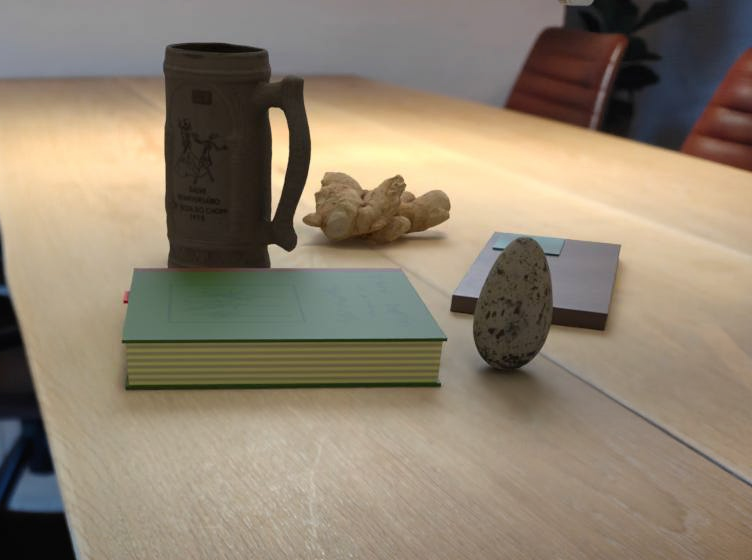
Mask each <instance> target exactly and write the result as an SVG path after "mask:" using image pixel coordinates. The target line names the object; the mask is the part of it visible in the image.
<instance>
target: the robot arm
mask: <svg viewBox="0 0 752 560" xmlns="http://www.w3.org/2000/svg"><path fill="white" fill-rule="evenodd" d="M557 1H558V2H559V4H560V5H565V6H573V7H580V6H581V7H588V6H591V5H592V4H593V2H594V1H595V0H557Z"/></svg>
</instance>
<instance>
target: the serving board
mask: <svg viewBox="0 0 752 560" xmlns="http://www.w3.org/2000/svg"><path fill="white" fill-rule="evenodd" d="M519 237H530V238H533V239H534V240H536V241H537V242H538V243H539V244H540V246H541V247H542V249H543V251H544V253H545V256H546V259H547V261H548V265H549V269H550V274H551V282H552V292H553V312H552V320H551V325H561V326H569V327H576V328H583V329H590V330H591V329H592V330H599V331H600V330H601V331H605V328H606V324H607V320H608V316H609V312H610V311H609V310H610V306H611V301H612V295H613V290H614V285H615V280H616V274H617V269H618V264H619V259H620V254H621V249H622V244H619V243H611V242H610V243H609V242H600V241H591V240H582V239H581V240H580V239H572V238H571V239H570V238H563V237H562V238H560V237H551V236H550V237H549V236H541V235H531V234H522V233H513V232H502V231H494V232H493V233H492V234H491V236H490V238H489V239H488V241H487V242H486V244H484V246H483V248H482V250H481V251H480V252H479V254H478V255H477V257H476V259H475V260H474V261H473V263H472V264H471V266H470V267H469V269H468V271H467V272H466V274H465V275H464V277H462V279H461V281H460V283H459V284H458V285H457V287H456V288H455V290H454V292H453V293H452V295H451V301H450V307H449V309H450V310H449V311H450V312H455V313H465V314H473V315H474V313H475V308H476V305H477V301H478V298H479V295H480V292H481V289H482V287H483V285H484V282H485V280H486V278H487V276H488V274H489V272H490V270H491V268H492V266H493V264H494V263H495V261H496V259H497V258H498V256H499V255H500V254H501V252H502V251H503V250H504V249H505V247H506V246H507V245H508V244H509V243H511V242H512V241H513V240H515V239H517V238H519Z"/></svg>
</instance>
